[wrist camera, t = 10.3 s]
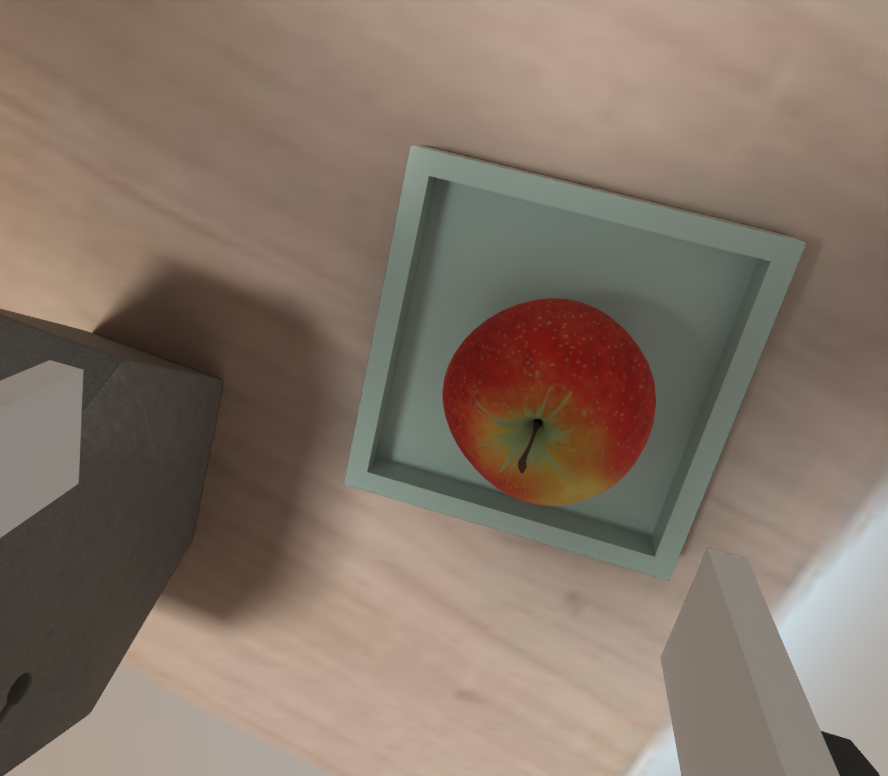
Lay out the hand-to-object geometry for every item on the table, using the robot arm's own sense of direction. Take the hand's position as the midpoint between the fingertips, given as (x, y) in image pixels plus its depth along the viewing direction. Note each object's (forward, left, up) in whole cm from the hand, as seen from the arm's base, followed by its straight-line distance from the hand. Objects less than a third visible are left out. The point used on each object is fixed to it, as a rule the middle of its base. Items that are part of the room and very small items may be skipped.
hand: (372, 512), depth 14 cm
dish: (+3, -2, -20) cm, 20 cm away
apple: (+4, -2, -19) cm, 20 cm away
